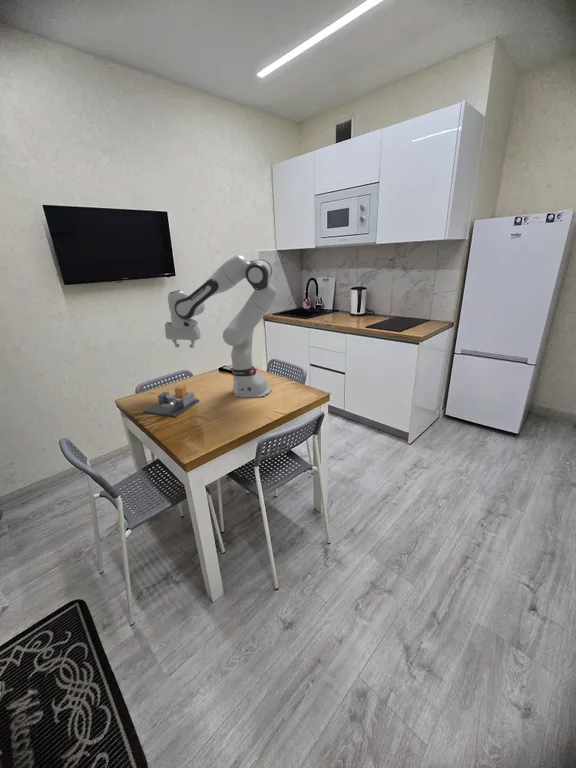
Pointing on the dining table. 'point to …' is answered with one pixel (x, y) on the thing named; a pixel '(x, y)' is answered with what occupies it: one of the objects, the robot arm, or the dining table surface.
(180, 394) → the orange brown rectangular block
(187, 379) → the dining table surface
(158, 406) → the coupling frame
